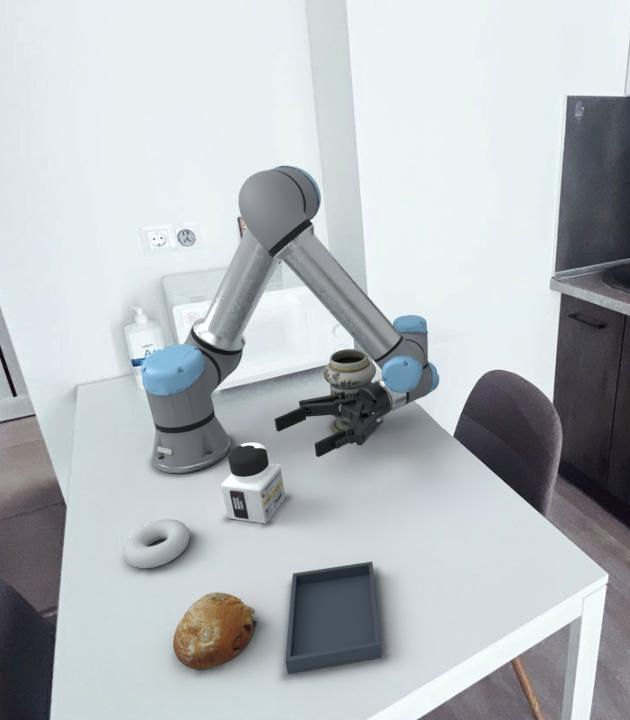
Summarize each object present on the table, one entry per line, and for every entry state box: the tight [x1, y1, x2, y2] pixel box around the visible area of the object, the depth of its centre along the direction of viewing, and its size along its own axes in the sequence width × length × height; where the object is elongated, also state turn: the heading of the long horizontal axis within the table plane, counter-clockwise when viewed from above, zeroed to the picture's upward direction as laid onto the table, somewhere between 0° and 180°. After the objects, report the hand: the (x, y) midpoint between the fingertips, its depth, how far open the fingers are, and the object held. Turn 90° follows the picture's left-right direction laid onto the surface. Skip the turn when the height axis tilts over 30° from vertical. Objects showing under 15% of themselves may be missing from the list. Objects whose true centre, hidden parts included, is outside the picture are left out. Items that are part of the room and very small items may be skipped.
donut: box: [123, 518, 191, 569], centre depth 91 cm, size 10×4×10 cm
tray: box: [284, 561, 382, 675], centre depth 78 cm, size 15×12×2 cm
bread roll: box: [172, 591, 258, 670], centre depth 75 cm, size 10×10×8 cm
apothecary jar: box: [323, 348, 377, 433], centre depth 126 cm, size 12×12×18 cm
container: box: [220, 442, 286, 525], centre depth 99 cm, size 8×8×13 cm
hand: (295, 437), depth 104 cm, fingers open, 13 cm apart
